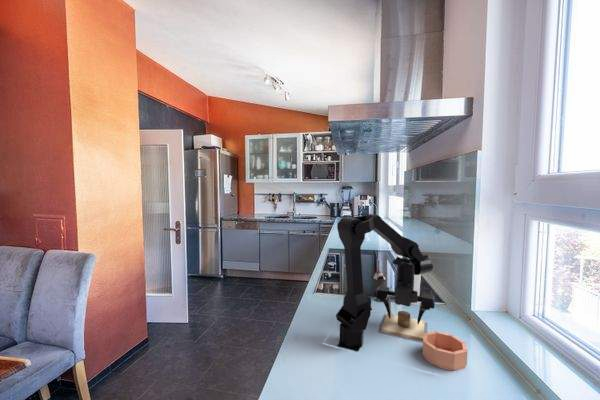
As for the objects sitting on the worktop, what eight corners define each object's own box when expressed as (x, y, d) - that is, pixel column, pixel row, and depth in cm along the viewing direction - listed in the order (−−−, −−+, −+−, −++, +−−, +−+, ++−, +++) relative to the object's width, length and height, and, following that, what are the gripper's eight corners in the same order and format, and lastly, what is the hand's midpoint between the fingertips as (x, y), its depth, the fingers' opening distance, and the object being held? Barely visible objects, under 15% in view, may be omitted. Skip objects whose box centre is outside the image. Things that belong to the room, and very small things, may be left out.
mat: (377, 333, 94) (377, 332, 94) (384, 315, 107) (384, 314, 107) (426, 345, 88) (426, 343, 88) (427, 324, 101) (427, 322, 101)
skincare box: (398, 297, 125) (400, 264, 124) (412, 297, 125) (413, 264, 124) (405, 305, 117) (407, 270, 116) (420, 305, 117) (421, 270, 116)
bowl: (422, 364, 78) (422, 346, 78) (423, 344, 88) (423, 328, 88) (467, 376, 73) (468, 357, 73) (463, 353, 83) (464, 337, 83)
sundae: (374, 296, 125) (375, 263, 125) (388, 300, 121) (390, 266, 120) (367, 301, 120) (368, 266, 119) (382, 305, 116) (383, 270, 115)
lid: (381, 331, 94) (381, 317, 94) (387, 315, 106) (387, 302, 106) (423, 341, 89) (424, 326, 89) (424, 323, 101) (425, 309, 100)
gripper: (373, 279, 93) (372, 324, 94) (435, 288, 85) (433, 338, 86) (379, 270, 103) (377, 311, 104) (435, 278, 95) (433, 322, 96)
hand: (403, 320), depth 97 cm, fingers open, 9 cm apart
